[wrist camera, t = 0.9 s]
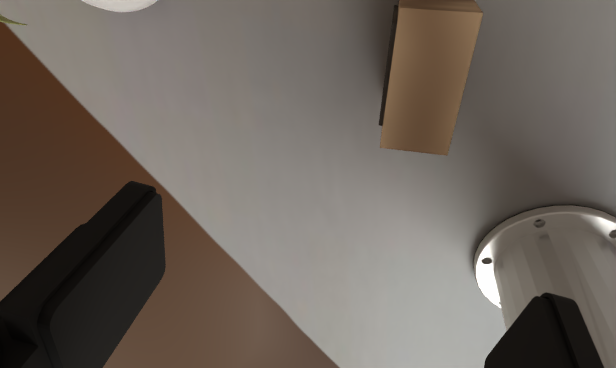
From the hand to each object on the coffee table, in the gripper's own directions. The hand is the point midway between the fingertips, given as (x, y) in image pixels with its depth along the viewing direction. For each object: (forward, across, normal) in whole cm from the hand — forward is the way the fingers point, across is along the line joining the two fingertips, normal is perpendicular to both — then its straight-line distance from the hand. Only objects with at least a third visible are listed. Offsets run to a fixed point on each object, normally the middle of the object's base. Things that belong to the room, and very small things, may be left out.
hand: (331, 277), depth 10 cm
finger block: (+22, -3, 0) cm, 22 cm away
